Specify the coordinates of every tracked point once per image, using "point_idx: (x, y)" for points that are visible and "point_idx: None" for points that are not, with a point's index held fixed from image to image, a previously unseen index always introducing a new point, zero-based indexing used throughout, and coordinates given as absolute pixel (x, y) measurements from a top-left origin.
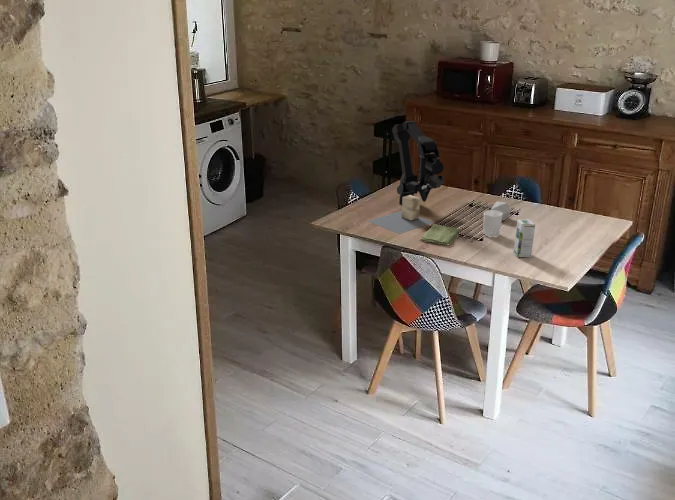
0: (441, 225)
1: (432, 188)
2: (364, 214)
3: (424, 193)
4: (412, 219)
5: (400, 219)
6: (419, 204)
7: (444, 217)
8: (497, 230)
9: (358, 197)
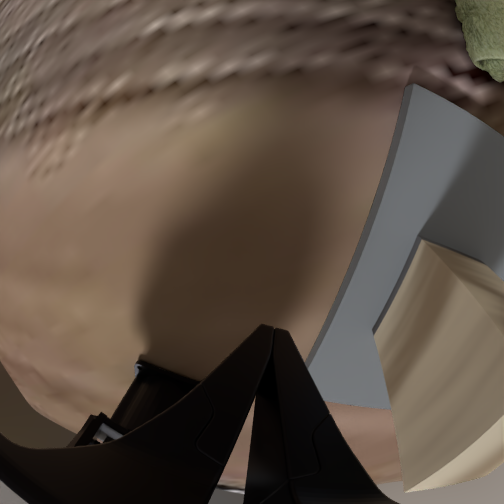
0: (487, 1)
1: (54, 467)
2: (392, 453)
3: (353, 460)
4: (480, 263)
5: None
6: (492, 315)
7: (182, 93)
8: None
9: (232, 490)
